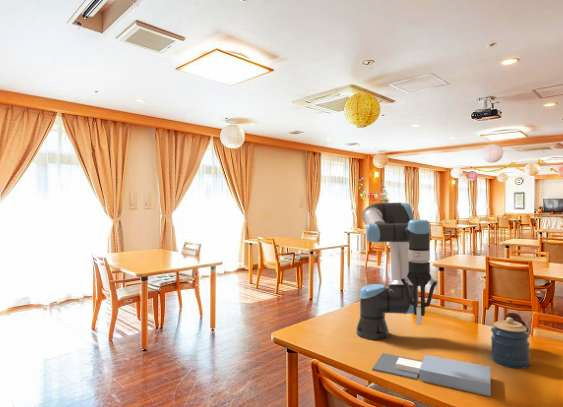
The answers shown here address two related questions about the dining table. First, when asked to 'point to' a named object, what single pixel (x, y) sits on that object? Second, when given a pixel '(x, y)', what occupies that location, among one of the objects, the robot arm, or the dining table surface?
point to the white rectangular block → (408, 365)
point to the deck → (456, 374)
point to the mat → (393, 366)
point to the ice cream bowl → (516, 319)
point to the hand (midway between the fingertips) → (419, 323)
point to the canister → (510, 344)
